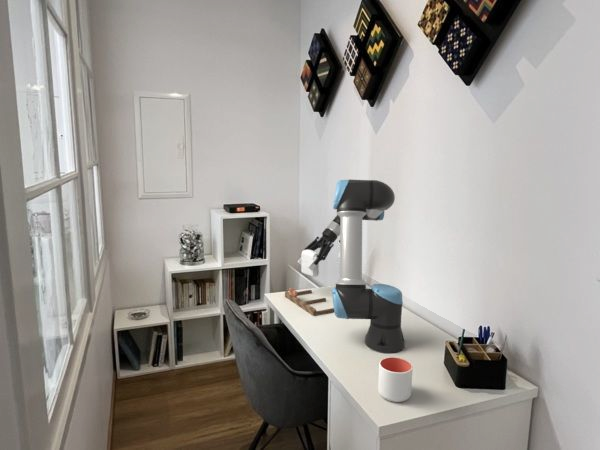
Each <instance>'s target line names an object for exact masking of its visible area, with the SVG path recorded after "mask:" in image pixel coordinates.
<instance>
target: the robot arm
mask: <svg viewBox="0 0 600 450" xmlns="http://www.w3.org/2000/svg"><path fill="white" fill-rule="evenodd" d="M395 197H396V196H395V193H394V191H393V189H392V187H391V186H389V185H388V184H387V183H385V182H383V181H380V180H376V179H369V180H367V179H340V180H338V181H337V183H336V186H335V192H334V198H333V206H332V209H333V210H336V216H335V217H334V218H333V219H332V220H331V221H330V223H329V224H327V227H326V228H325V229H324V230H323V232H321V235H322V236H321V237H319V236H316V238H315V239H313V240H312V242H310V243H309V244H308V245H306V247H304V248H303V250H312V251H314V252H316V251H317V249H319V252H318V253H317V254H318V256H317V257H318V258H317V257H316V258H315V259H314V260H313V261H312V262H311V264H310V265H309V266H308V268H309V269H310V270H311V271H312V270H313V269H314V268H315V266H316V265H317V264H318V263H320V261H325V260H326V258H327V256H328V255H329V253H330V252H331V250H332V248H333V247H334V246H335V245H334V242H336V240H338V237H339V279H338V280H337V281H336V283H335V287H332V288H331V294H332V295H331V296H332V304H333V305H332V306H333V308H334V312H333V313H334V316H335V317H336V318H338V319H342V320H343V319H345V320H370V322H369V327H368V330H367V333H366V335H365V338H364V345H365V346H366V347H367V348H369V349H370V350H372V351H375V352H378V353H383V354H384V353H385V354H392V353H393V354H394V353H399V352H401V351H403V350H404V348H405V344H406V343H405V342H406V341H405V338H404V333H403V331H402V314H403V313H402V311H403V304H404V302H403V292H402V291H401V290H400V289H399V288H397V287H396V286H393V285H389V284H384V283H374V284H372V285H371V288H367V283H366V282H365V281H364V280H363V221H376V222H378V221H383V220H384V218H385V211H387V210H389V209H390V208H391V207H392V206H393V205H394V203H395V199H396V198H395ZM297 263H298V264H299V265H300V266H301V257H300V258H299V259H298V260H297Z"/></svg>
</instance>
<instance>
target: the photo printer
mask: <svg viewBox="0 0 600 450" xmlns="http://www.w3.org/2000/svg"><path fill="white" fill-rule="evenodd" d="M318 254H319V253H317V252H316V251H312V250H304V249H303V250H302V252H301V255H300V256H301V257H300V258H301V265H300V266H301V267H300V268H301V269H300V270H301V273H302V274H305V275H308V276H311V277H318V276H319V273H320V272H319V271H320V270H319V267H320V266H319V263H320V262H319V263H318V264H317V265H316V266H315V268H314V269H313V270H312V271H311V270H310V269H309V268H308V266H309V265H310V264H311V262H312V261H313V260H314V259H315V258H316V257H317V256H318ZM317 258H318V257H317Z"/></svg>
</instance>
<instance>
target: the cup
mask: <svg viewBox="0 0 600 450" xmlns="http://www.w3.org/2000/svg"><path fill="white" fill-rule="evenodd" d="M413 368H414V367H413V365H412V363H411V362H409V361H408V360H406V359H404V358H400V357H395V356H391V357H390V356H389V357H384V358H383V359H381V360H380V361H379V363H378V378H377V379H378V381H377V382H378V383H377V391H378V393H379V395H380V396H381V397H382V398H383V399H385V400H386V401H390V402H391V403H392V402H393V403H401V402H405V401H408V399H410V397H411V395H412V387H413V385H412V382H413Z"/></svg>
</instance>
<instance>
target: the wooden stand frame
mask: <svg viewBox="0 0 600 450" xmlns="http://www.w3.org/2000/svg"><path fill="white" fill-rule="evenodd" d="M312 293H313V290H312V289H308V290H307V289H306V290H300V291H297V290H295V289H294V288H293V287H289V288H288V290H285V291H284V297H285V298H286V299H287V300H289V301H291V302H292V303H294V304H295V305H296V306H297V307H299V308H301V310H303V311H305V312H307V313H308V314H310V315H311V316H313V317H317V316H321V315H326V314H332V313H335V312H334V307H331V308H327V309H322V310H317V309H316V308H314V307H313V306H311V305H313V304H314V305H315V304H320V303H326V302H327V298H326V297H322V298H317V299H316V298H315V299H310V300H305V301H303V300H302V299H301V298H299V296H304V295H309V294H312Z"/></svg>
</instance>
